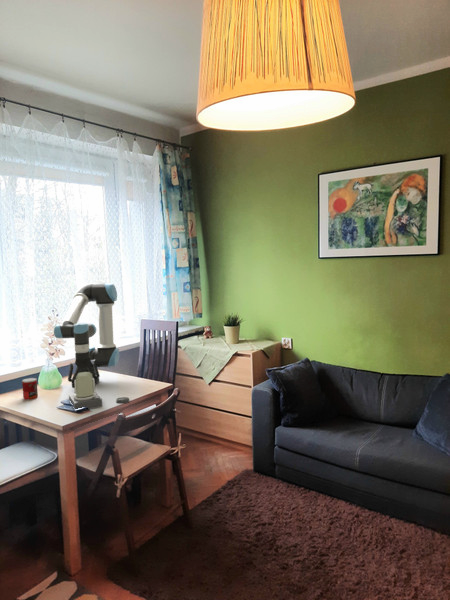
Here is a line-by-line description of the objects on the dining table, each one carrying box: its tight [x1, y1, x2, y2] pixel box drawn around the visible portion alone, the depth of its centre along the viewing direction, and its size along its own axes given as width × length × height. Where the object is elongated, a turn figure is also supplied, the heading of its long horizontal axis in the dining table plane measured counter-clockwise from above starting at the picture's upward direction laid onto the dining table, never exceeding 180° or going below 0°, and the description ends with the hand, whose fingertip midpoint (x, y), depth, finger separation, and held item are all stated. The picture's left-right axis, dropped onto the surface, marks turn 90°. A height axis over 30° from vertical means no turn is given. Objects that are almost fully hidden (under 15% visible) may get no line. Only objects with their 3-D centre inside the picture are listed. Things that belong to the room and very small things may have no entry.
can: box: [75, 372, 94, 397], centre depth 235 cm, size 9×9×12 cm
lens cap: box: [116, 396, 130, 404], centre depth 240 cm, size 7×7×2 cm
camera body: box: [68, 390, 103, 410], centre depth 236 cm, size 18×14×5 cm
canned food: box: [21, 377, 39, 401], centre depth 250 cm, size 8×8×11 cm
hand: (84, 391), depth 236 cm, fingers open, 9 cm apart
